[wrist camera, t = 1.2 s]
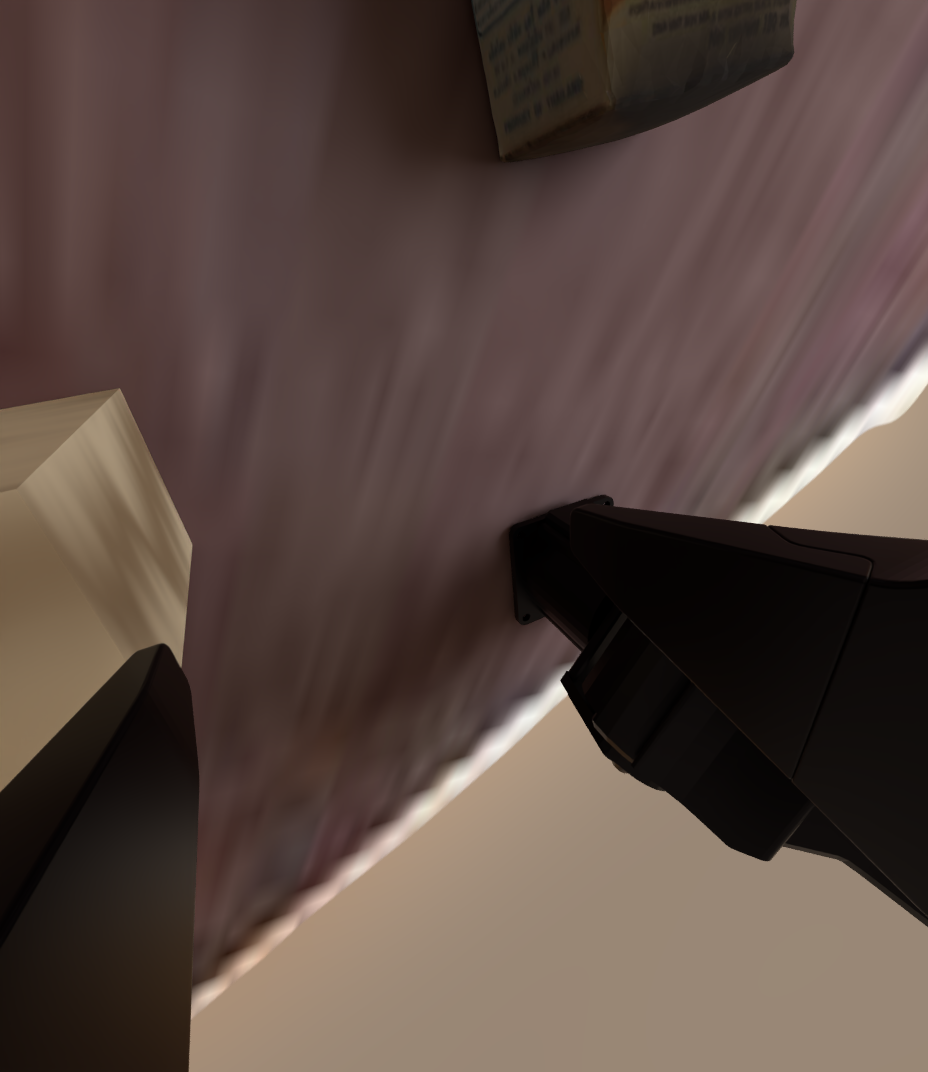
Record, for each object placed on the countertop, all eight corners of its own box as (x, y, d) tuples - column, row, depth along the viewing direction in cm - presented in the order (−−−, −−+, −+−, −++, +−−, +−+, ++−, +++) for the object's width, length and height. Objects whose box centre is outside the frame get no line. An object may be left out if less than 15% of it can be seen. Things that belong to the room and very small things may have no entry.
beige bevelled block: (192, 544, 18) (175, 738, 10) (73, 578, 17) (-52, 828, 9) (119, 388, 16) (16, 488, 7) (-32, 415, 14) (-352, 572, 6)
